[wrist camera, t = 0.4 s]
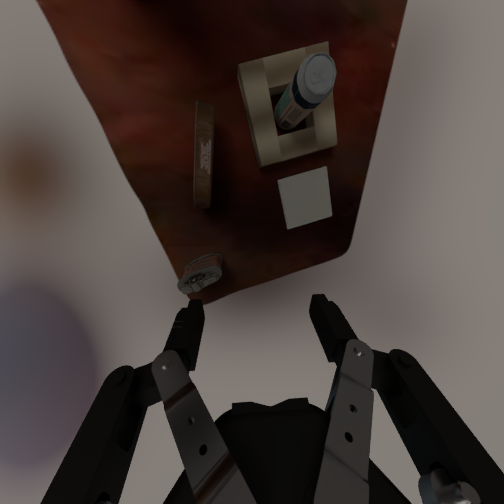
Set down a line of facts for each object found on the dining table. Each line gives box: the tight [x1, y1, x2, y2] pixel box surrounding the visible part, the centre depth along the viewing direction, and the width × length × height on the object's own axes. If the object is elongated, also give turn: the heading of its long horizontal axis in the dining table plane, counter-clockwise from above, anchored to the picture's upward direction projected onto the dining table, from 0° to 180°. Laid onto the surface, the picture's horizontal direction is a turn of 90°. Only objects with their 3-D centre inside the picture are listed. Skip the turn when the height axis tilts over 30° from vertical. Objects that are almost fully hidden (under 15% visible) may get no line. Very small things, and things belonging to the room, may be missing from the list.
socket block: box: [237, 42, 337, 168], centre depth 31 cm, size 14×14×3 cm
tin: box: [193, 100, 215, 208], centre depth 29 cm, size 15×3×8 cm, turn 173°
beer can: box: [274, 53, 337, 130], centre depth 26 cm, size 5×5×12 cm
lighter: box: [177, 253, 222, 294], centre depth 34 cm, size 8×3×10 cm, turn 112°
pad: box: [277, 166, 332, 229], centre depth 37 cm, size 10×10×1 cm
